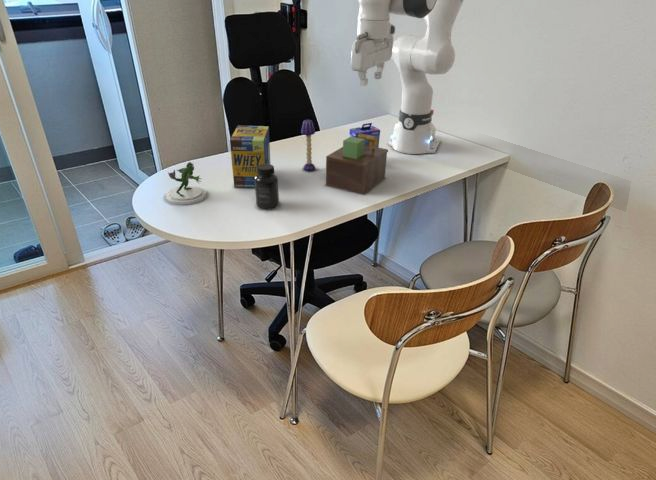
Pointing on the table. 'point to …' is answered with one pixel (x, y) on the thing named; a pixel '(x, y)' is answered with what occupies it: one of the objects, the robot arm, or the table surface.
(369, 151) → the chest lid
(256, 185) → the supplement bottle
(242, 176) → the protein box
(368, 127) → the ink cartridge box
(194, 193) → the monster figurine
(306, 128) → the toy lamp
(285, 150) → the table surface
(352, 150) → the green toy block
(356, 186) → the chest
